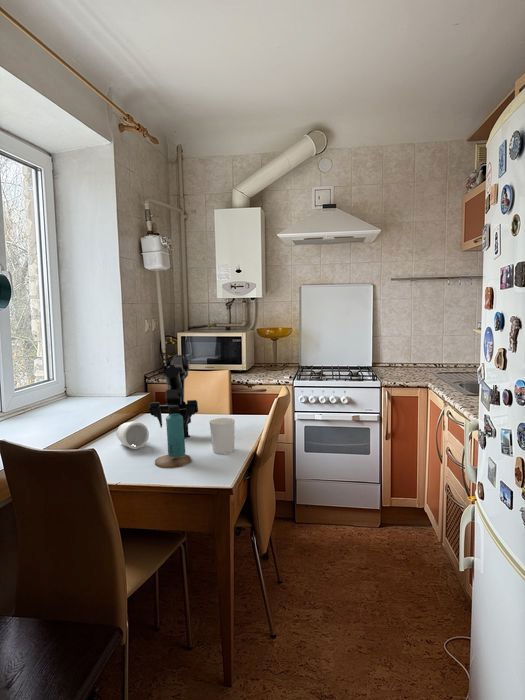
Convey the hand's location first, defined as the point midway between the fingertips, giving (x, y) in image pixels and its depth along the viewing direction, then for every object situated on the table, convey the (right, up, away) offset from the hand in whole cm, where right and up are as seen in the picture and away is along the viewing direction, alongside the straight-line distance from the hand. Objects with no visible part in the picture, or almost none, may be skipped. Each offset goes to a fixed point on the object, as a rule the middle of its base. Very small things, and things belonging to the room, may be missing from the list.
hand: (173, 426), depth 180 cm
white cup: (+19, -11, +4) cm, 22 cm away
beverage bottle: (+3, -11, -6) cm, 13 cm away
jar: (-25, -6, +22) cm, 34 cm away
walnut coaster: (+1, -12, -7) cm, 14 cm away
